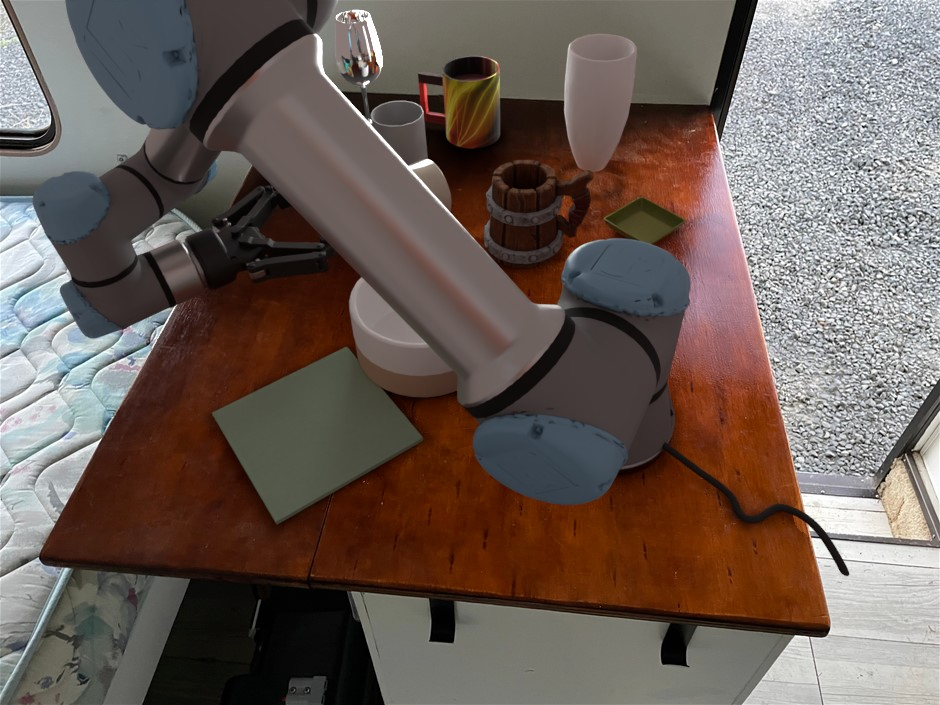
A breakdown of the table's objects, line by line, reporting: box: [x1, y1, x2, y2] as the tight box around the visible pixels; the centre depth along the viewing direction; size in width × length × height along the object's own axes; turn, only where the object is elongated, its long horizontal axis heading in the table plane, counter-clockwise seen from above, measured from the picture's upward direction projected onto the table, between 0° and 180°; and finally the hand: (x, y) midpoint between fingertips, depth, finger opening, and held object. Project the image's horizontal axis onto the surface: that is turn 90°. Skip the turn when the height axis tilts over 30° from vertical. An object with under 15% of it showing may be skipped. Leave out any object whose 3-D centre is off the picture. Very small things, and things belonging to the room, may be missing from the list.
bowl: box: [348, 276, 458, 398], centre depth 87 cm, size 17×17×8 cm
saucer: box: [603, 196, 687, 245], centre depth 104 cm, size 9×9×2 cm
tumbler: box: [408, 158, 453, 213], centre depth 105 cm, size 11×9×9 cm
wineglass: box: [334, 9, 384, 126], centre depth 122 cm, size 8×8×20 cm
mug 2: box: [483, 159, 594, 270], centre depth 99 cm, size 12×14×15 cm
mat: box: [211, 346, 424, 526], centre depth 81 cm, size 18×18×1 cm
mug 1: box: [417, 55, 501, 149], centre depth 122 cm, size 10×14×12 cm
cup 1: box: [369, 100, 429, 165], centre depth 116 cm, size 8×8×10 cm
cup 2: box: [563, 33, 638, 173], centre depth 107 cm, size 10×10×22 cm
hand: (341, 206), depth 99 cm, fingers open, 13 cm apart
